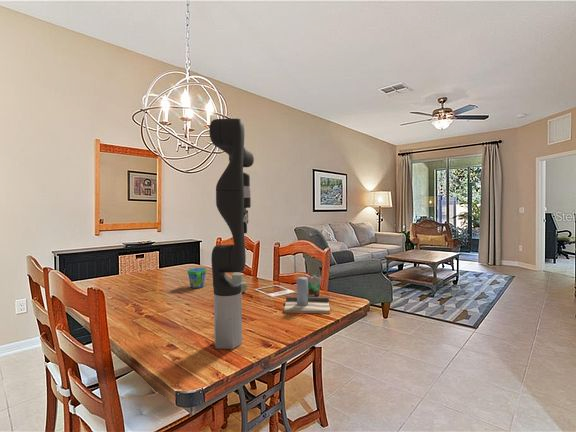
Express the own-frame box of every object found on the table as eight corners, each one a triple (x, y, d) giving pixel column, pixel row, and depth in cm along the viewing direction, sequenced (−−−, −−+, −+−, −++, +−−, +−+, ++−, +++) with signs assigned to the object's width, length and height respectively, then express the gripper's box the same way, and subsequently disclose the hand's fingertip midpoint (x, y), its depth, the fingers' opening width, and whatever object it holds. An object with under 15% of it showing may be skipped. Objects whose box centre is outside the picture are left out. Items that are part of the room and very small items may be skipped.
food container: (320, 299, 154) (320, 279, 154) (308, 298, 155) (307, 278, 155) (322, 292, 166) (322, 273, 166) (311, 291, 167) (311, 273, 167)
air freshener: (234, 296, 161) (234, 276, 161) (224, 293, 166) (224, 274, 166) (250, 291, 169) (249, 273, 169) (240, 289, 175) (239, 271, 174)
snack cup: (207, 289, 174) (207, 271, 174) (187, 291, 171) (187, 272, 171) (206, 283, 189) (205, 266, 189) (187, 284, 186) (187, 267, 186)
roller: (308, 305, 140) (308, 279, 139) (297, 306, 140) (297, 280, 139) (307, 301, 145) (307, 276, 144) (296, 302, 145) (296, 277, 143)
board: (330, 313, 133) (330, 306, 133) (283, 312, 135) (283, 305, 135) (328, 303, 147) (328, 297, 147) (286, 302, 149) (286, 296, 149)
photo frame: (272, 296, 158) (254, 288, 172) (272, 298, 158) (254, 290, 172) (295, 291, 166) (276, 284, 181) (295, 293, 166) (276, 286, 181)
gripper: (246, 196, 128) (247, 235, 129) (253, 197, 143) (253, 232, 143) (229, 196, 129) (229, 235, 129) (237, 197, 143) (237, 232, 144)
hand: (242, 234), depth 136 cm, fingers open, 8 cm apart
